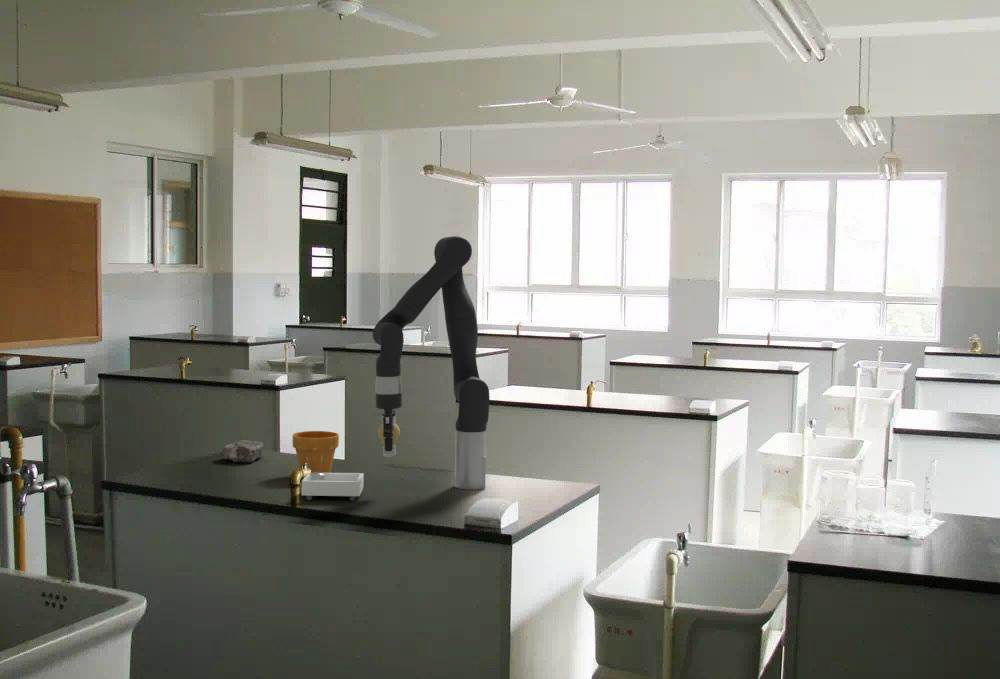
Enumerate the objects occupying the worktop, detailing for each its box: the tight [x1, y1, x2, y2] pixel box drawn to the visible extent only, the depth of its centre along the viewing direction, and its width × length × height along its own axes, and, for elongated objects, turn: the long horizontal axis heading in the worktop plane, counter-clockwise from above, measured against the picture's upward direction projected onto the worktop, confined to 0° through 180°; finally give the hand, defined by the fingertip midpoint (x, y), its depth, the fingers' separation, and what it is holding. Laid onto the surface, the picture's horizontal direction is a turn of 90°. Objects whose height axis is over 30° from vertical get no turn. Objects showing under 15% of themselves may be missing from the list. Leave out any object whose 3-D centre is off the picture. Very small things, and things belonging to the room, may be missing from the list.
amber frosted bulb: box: [377, 423, 401, 458], centre depth 289 cm, size 6×6×10 cm
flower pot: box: [292, 430, 340, 473], centre depth 312 cm, size 14×14×13 cm
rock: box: [220, 439, 265, 463], centre depth 335 cm, size 13×6×15 cm
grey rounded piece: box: [310, 472, 325, 481], centre depth 284 cm, size 4×4×4 cm
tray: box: [301, 472, 365, 502], centre depth 284 cm, size 16×12×6 cm
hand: (389, 448), depth 289 cm, fingers closed on amber frosted bulb, 6 cm apart
